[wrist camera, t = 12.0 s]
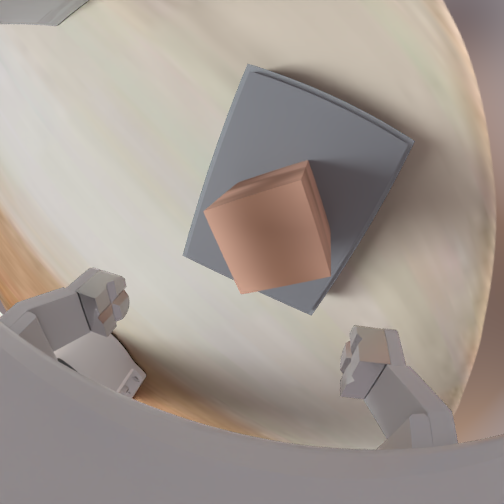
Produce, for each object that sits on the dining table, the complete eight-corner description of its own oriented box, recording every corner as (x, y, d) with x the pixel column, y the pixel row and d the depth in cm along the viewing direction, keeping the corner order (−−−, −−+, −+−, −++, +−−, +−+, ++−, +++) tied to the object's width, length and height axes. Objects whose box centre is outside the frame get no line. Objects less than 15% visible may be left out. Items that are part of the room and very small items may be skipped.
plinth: (313, 292, 26) (310, 320, 23) (198, 238, 27) (179, 258, 23) (401, 137, 18) (417, 142, 15) (258, 70, 18) (245, 62, 15)
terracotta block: (263, 246, 21) (241, 294, 16) (237, 182, 19) (203, 211, 14) (330, 229, 19) (330, 276, 14) (308, 159, 17) (301, 180, 12)
